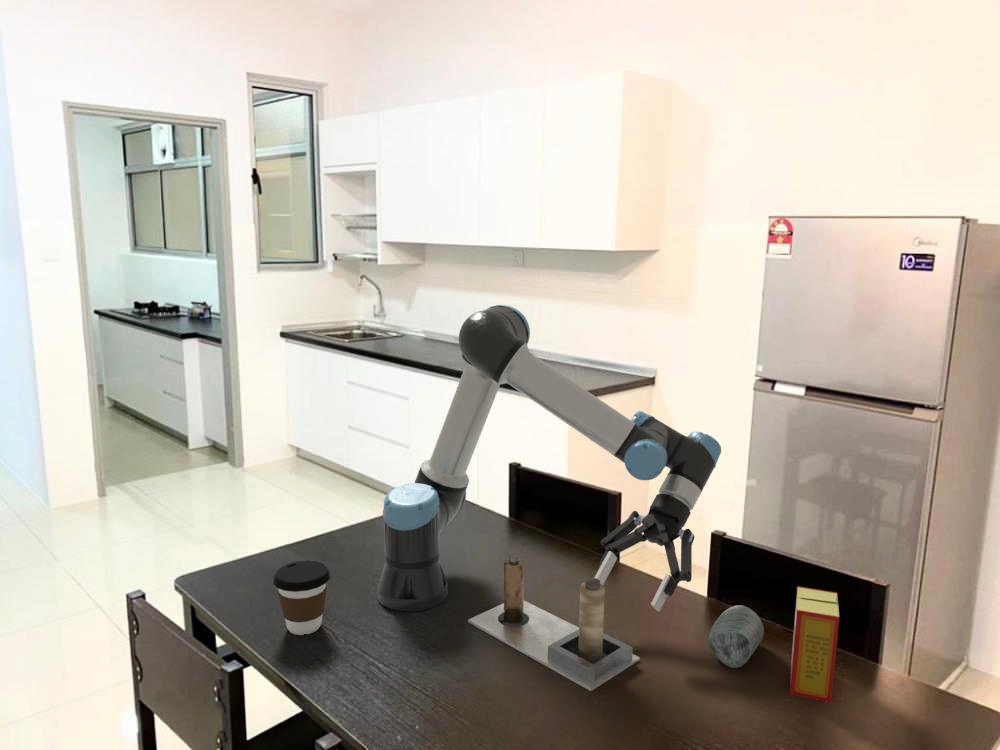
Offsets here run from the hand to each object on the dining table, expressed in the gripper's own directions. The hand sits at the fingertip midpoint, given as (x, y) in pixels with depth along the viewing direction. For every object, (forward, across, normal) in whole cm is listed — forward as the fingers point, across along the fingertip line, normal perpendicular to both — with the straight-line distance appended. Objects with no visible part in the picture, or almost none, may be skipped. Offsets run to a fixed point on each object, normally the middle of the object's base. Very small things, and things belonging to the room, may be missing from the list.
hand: (625, 595), depth 146 cm
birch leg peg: (+14, 0, +1) cm, 14 cm away
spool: (-1, -17, -15) cm, 23 cm away
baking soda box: (-2, -31, -15) cm, 35 cm away
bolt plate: (+14, +10, +1) cm, 17 cm away
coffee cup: (+37, +46, +23) cm, 64 cm away
